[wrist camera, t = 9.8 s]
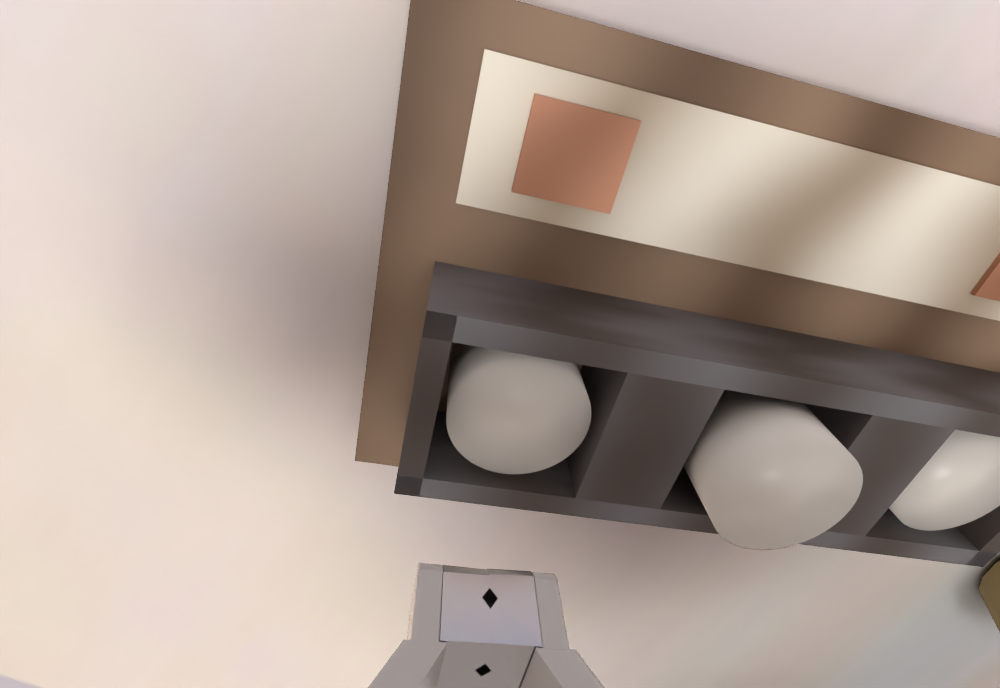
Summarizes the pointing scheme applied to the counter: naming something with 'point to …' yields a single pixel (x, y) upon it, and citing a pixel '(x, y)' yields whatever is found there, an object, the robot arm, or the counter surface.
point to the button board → (677, 267)
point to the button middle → (771, 472)
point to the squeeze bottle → (992, 592)
